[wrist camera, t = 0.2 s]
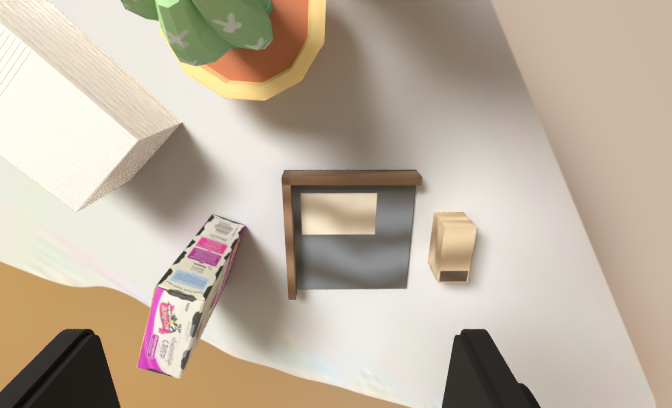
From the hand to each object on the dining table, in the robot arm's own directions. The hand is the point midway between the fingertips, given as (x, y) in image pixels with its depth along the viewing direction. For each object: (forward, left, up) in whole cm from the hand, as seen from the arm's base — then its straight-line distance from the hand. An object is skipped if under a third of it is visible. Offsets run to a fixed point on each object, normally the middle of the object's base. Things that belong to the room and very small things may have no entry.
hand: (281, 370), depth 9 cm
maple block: (+15, +17, -37) cm, 43 cm away
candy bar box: (+17, -15, -37) cm, 43 cm away
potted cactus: (-12, -7, -37) cm, 39 cm away
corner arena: (+14, +4, -37) cm, 39 cm away
